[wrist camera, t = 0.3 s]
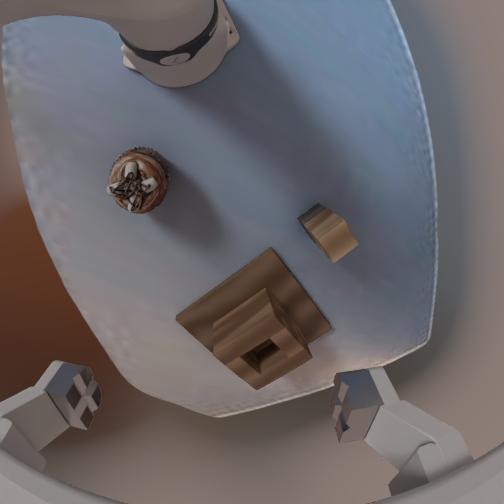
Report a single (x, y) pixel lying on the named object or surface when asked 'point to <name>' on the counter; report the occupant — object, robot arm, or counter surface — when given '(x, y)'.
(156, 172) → the cupcake
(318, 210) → the rail end
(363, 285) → the counter surface
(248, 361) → the post block
